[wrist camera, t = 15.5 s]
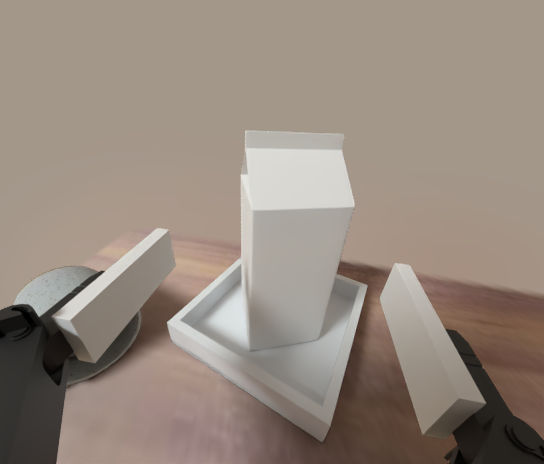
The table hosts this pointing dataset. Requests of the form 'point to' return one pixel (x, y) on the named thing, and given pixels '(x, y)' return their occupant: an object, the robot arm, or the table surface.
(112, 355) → the ceramic mug
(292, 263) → the milk carton
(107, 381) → the table surface
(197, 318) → the tray
